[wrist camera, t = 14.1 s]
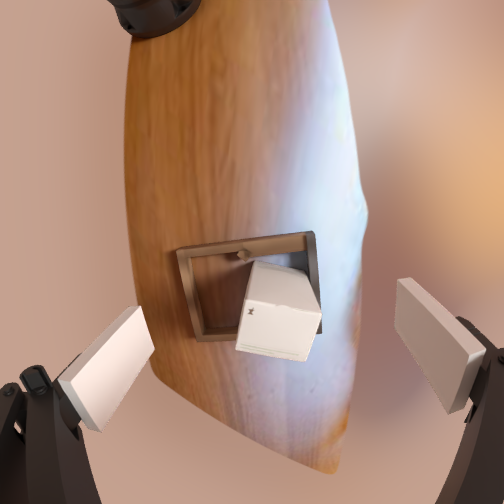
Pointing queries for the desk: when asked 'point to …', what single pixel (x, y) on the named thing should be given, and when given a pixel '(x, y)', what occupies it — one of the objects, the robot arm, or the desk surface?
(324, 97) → the desk surface
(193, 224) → the desk surface
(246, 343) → the skincare box
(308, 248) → the brown wooden shallow tray
